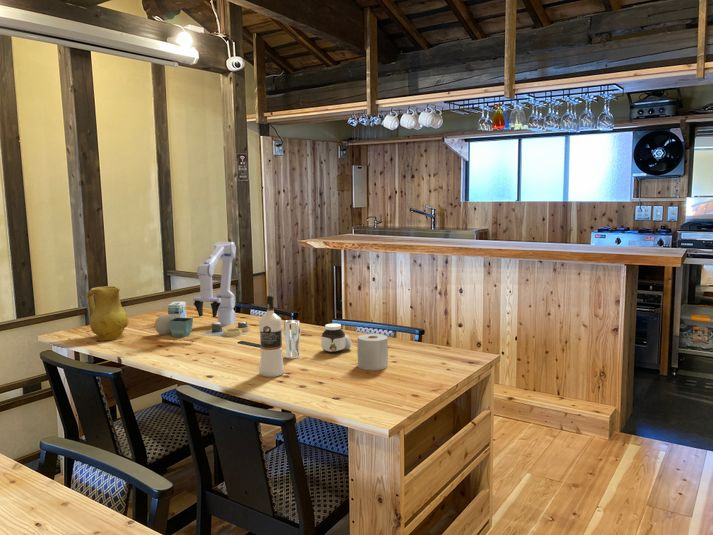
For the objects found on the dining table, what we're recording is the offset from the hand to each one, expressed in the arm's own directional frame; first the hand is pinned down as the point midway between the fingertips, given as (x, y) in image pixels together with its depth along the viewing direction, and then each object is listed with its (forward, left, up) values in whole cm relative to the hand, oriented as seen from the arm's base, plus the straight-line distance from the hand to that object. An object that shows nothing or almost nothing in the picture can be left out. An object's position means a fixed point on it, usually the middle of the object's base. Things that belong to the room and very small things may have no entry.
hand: (207, 316), depth 278 cm
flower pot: (+7, -10, -10) cm, 16 cm away
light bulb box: (-22, -32, -10) cm, 40 cm away
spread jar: (+10, +70, -10) cm, 71 cm away
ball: (+4, -21, -10) cm, 24 cm away
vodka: (+48, +57, -10) cm, 75 cm away
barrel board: (-4, +8, -10) cm, 13 cm away
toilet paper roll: (+28, +91, -10) cm, 95 cm away
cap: (-5, +2, -8) cm, 10 cm away
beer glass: (+24, +55, -10) cm, 60 cm away
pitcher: (+15, -45, -10) cm, 49 cm away
